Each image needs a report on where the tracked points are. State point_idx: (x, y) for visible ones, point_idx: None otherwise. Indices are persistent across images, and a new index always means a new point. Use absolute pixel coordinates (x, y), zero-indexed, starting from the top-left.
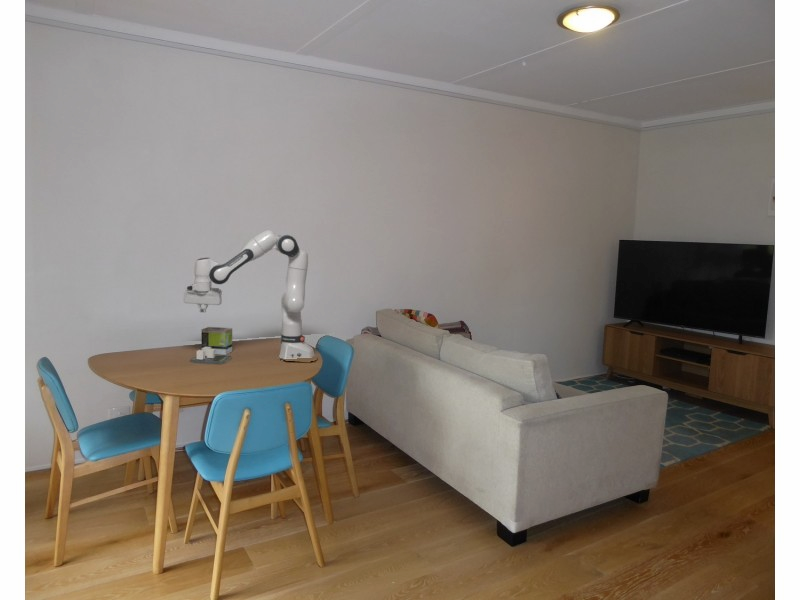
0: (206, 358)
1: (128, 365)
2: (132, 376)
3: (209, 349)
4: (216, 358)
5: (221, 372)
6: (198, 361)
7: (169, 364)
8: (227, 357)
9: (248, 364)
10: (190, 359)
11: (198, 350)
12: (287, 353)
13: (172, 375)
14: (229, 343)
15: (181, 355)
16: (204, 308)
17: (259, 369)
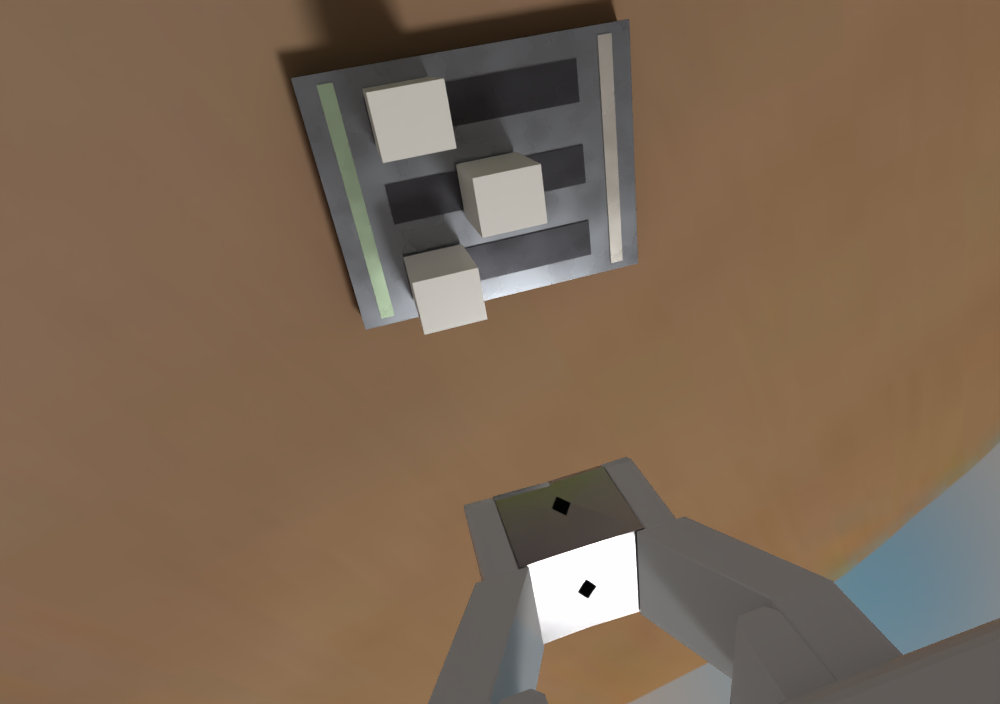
0: (463, 222)
1: (28, 593)
2: (302, 693)
3: (495, 210)
4: (546, 186)
5: (695, 420)
6: None
7: (268, 437)
8: (615, 94)
9: (803, 158)
10: (362, 318)
11: (423, 303)
12: None
13: None
14: None
15: (57, 109)
16: (687, 627)
17: (890, 253)
